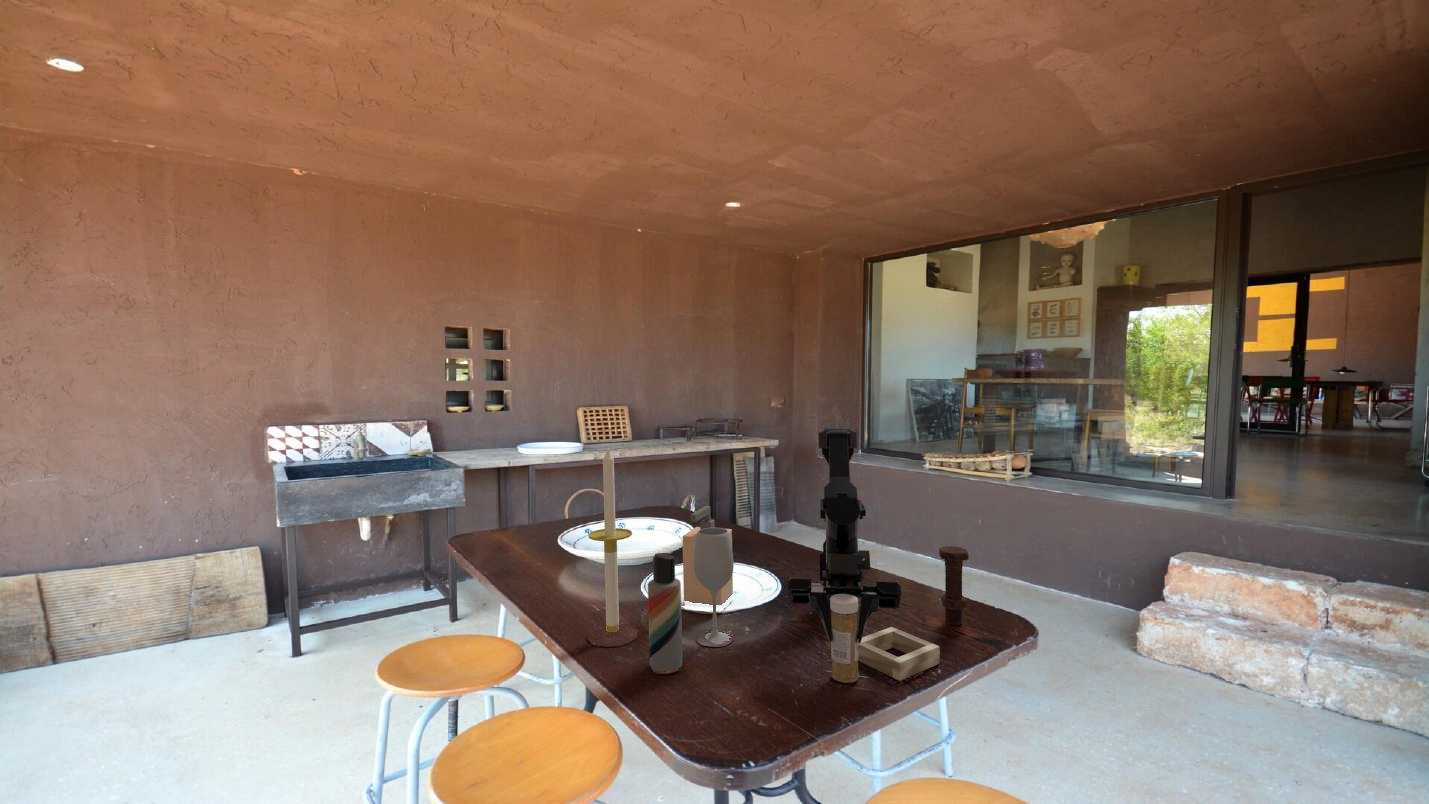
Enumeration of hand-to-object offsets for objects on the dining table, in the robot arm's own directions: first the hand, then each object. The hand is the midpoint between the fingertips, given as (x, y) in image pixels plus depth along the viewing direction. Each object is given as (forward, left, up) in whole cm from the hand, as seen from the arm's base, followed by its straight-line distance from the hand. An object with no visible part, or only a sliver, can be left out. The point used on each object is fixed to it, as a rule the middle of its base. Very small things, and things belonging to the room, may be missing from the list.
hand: (844, 641), depth 102 cm
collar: (+4, +12, -7) cm, 15 cm away
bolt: (+9, +34, -7) cm, 36 cm away
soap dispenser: (-38, +16, -7) cm, 42 cm away
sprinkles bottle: (-1, +1, -7) cm, 7 cm away
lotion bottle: (-29, -11, -7) cm, 31 cm away
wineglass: (-28, +3, -7) cm, 29 cm away
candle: (-46, -6, -7) cm, 46 cm away
